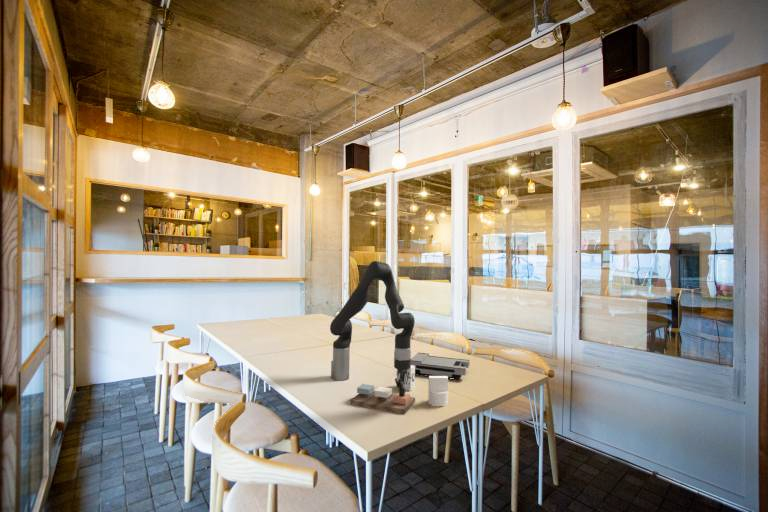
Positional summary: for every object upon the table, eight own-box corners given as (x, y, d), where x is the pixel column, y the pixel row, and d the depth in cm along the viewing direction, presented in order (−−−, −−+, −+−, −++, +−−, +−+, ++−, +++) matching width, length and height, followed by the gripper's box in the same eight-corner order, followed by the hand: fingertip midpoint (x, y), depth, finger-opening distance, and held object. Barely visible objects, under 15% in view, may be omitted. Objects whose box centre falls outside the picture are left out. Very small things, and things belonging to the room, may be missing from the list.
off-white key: (374, 395, 164) (374, 390, 164) (379, 391, 169) (379, 386, 169) (386, 398, 161) (387, 392, 161) (391, 393, 167) (391, 388, 167)
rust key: (393, 402, 160) (393, 397, 160) (397, 397, 166) (397, 392, 166) (405, 404, 158) (405, 399, 158) (410, 400, 163) (410, 394, 163)
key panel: (350, 404, 163) (350, 396, 163) (364, 393, 177) (364, 386, 177) (404, 414, 153) (404, 406, 153) (415, 401, 167) (415, 394, 167)
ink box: (395, 388, 185) (396, 365, 186) (400, 385, 190) (401, 363, 190) (410, 391, 181) (411, 367, 181) (415, 388, 185) (415, 365, 185)
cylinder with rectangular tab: (445, 399, 171) (445, 374, 171) (449, 406, 162) (450, 380, 162) (426, 399, 171) (427, 373, 171) (429, 406, 162) (430, 380, 162)
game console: (464, 382, 197) (464, 367, 198) (408, 375, 209) (409, 360, 209) (469, 371, 217) (469, 358, 217) (418, 365, 228) (418, 352, 228)
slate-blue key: (357, 392, 167) (357, 387, 167) (362, 388, 172) (362, 383, 173) (368, 394, 165) (368, 389, 165) (374, 390, 170) (374, 385, 170)
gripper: (399, 353, 170) (399, 390, 169) (389, 359, 157) (388, 399, 157) (414, 354, 167) (414, 392, 166) (405, 361, 155) (405, 402, 154)
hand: (402, 395), depth 162 cm, fingers closed
